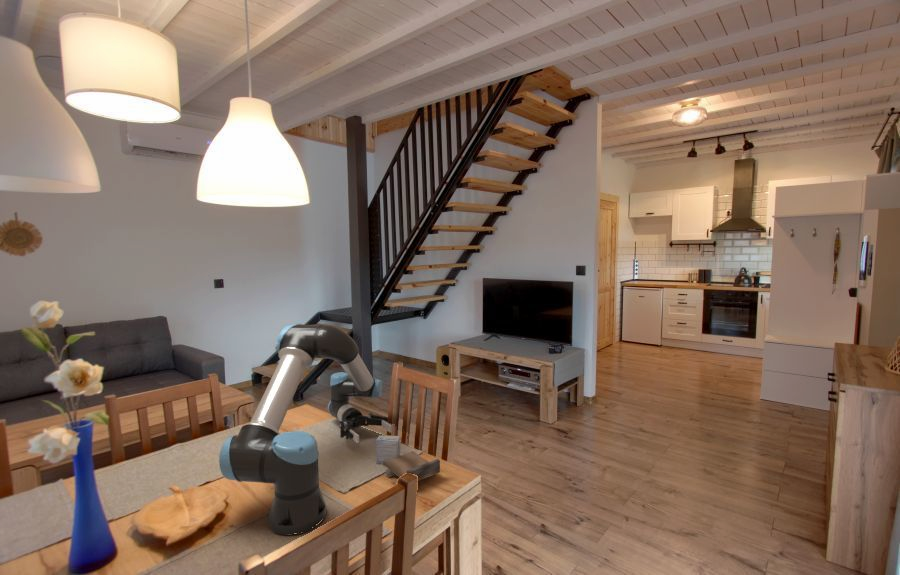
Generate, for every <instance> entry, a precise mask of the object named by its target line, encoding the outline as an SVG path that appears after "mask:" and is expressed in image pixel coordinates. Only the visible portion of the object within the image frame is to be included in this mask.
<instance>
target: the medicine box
mask: <svg viewBox="0 0 900 575" xmlns="http://www.w3.org/2000/svg"><path fill="white" fill-rule="evenodd" d="M401 453H402V452H401V436H400V435H378V436H377V438H376V440H375V456H376V457H375V459H376V464H377V465H378V464H381V465H383V462H384V461H387V460H389V459H392V458H395V457H398V456H401V455H402V454H401Z"/></svg>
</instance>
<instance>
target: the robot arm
mask: <svg viewBox="0 0 900 575" xmlns="http://www.w3.org/2000/svg"><path fill="white" fill-rule="evenodd" d="M276 350H277V354H278V358H279V362H278V364H277V366H276V368H275V369H274V372H273V374H272V377H271V378H270V380H269V382H268V384H267V387H266V388H265V391H264V393H263V395H262V397H261V399H260V401H259V403H258V405H257V407H256V409H255V412H254V414H253V416H252V418H251V419H250V422H248V423H245V424H243V425H242V426H241V428H240V430H239V432H238V434H234V435H230V436H229V437H227V438H226V439H225V440H224V442H223V443H222V445H221V448H220V452H219V456H218V457H219V458H218V463H219V469H220V472H221V475H222V476H223V477H224V478H225V479H227V480H229V481H236V482H238V483H243V482H248V483H262V484H273V486H274V497H273V500H272V504H271V507H270V509H269V514H268V525H269V528H270V530H271V532H272V533H275V534H277V535H280V534H282V535H281V536H288V535H287V534H294V533H297V535H299V534H298V533H301V532H303V533H301V534H304V533H307V532H310V531H311V530H313V529H312V527H315V526H316V524H318V523H319V522H320V521H321V520H322V519H323V518H324V517H325V518H326V516H327V503H326V501H325V498H324V495H323V494H322V491H321V488H320V477H319V476H320V475H319V474H320V473H319V472H320V471H319V449H318V448H319V447H318V441H317V439H316V438H315V436H313V434H310V433H308V432H305V431H300V430H291V431H285V432H284V431H283V432H279V431H280V430H281V427H282V425H283V422H284V420H285V418H286V415H287V412H288V410H289V408H290V406H291V403H292V401H293V398H294V396H295V393H296V391H297V389H298V386H299V384H300V382H301V379H302V378H303V375H304V372H305V370H306V369H308V368H310V367H312V365H313V363H314V360H315V359H329V360H333V361H334V362H335V363H336V364H338V365H340V366H341V367H342V369H343V370H344V372H342V371H341V372H335V373H332V374H331V375H330V380H329V381H330V383H329V386H330V400H329V402H328V405H327V411H328V413H329V414H330V415H331V416H332V418H335V419H337V420H338V421H339V429H340V433H339V436H340V438H341V439H342V438H344V437H345V439H346V440H349V439H350V440H353V441H354V442H356V443H357V444H358V443H360V435H359V434H358V433H356V432H355V431H354V430H355V429H356V428H359V427H363V426H365V427H369V426H379V427H381V428H382V429H384V430H386V431H387V432H388V433H392V432H393V427H392V424H391V423H390V422H389V417H387V416H382V415H378V414H373V413H368V414H367V416H366V415H363V414H362V412H361V411H360V410H358V409H357V408H355V406H352V405H351V404H350V398H351V397H355V398H371V399H372V398H380V397H381V396H382V393H383V387H384V386H383V381H382V380H381V379H377V378H373V376H372V374H371V373H370V371H369V369H368V367H367V366H366V364H365V363H364V361H363V359H362V357H361V356H360V354H359V346H358V345H357V342H356V341H355V340H354V339H353V337H351V335H349V334H348V333H347V332H346V331H344V330H342V329H341V328H339V327H337V326H334V325H331V324H302V323H296V324H290V325H287V326H285V327H284V328H283V329H281V331H280V333H279V335H278V337H277V343H276ZM325 515H326V516H325ZM325 518H324V519H325ZM315 528H316V527H315ZM285 534H286V535H285Z"/></svg>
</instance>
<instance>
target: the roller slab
mask: <svg viewBox="0 0 900 575" xmlns="http://www.w3.org/2000/svg"><path fill="white" fill-rule="evenodd" d="M382 465H383V466H384V467H385V468H387V469H386V471H385V474H386V477H387V478H391V477H394V476H397V477H399V478H400V476H402V475H403V474H405V473H411V474H415V475H417V476H418V481H417V482H419V481H422V480H425V479H427V478H430V477H431V476H434V475H437V474H439V473H441V460H440V459H439V458H436V459H433V460H431V461H428V460H427V459H425V458H424V457H422V456H421V455H419V454H418V453H416V452H415V451H408V452H407V453H404V454H401V456H398V457H395V458H392V459H389V460H387V461H384V462H383V464H382Z"/></svg>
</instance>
